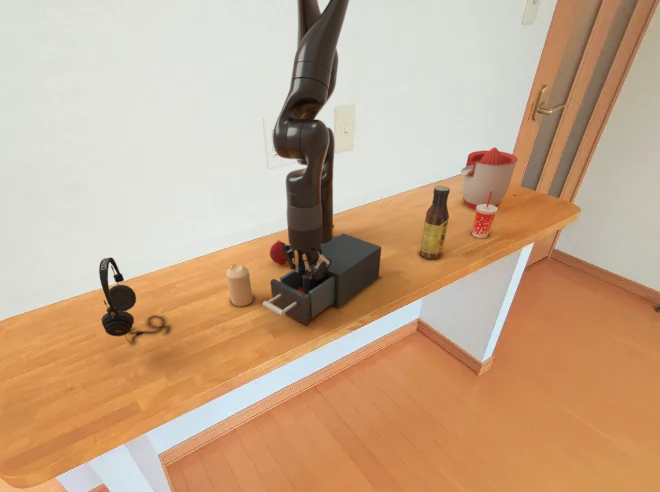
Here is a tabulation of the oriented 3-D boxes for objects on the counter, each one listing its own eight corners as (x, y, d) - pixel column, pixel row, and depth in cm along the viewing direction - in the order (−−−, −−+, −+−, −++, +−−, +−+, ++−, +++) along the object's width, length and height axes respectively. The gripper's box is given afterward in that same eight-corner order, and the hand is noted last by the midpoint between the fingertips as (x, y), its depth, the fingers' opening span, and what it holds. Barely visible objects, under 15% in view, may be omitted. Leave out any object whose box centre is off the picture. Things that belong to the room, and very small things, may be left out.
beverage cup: (481, 229, 125) (492, 186, 116) (494, 237, 121) (507, 193, 112) (465, 232, 124) (475, 189, 115) (477, 240, 119) (489, 196, 110)
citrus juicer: (446, 198, 146) (457, 143, 133) (490, 195, 147) (505, 139, 134) (464, 215, 133) (478, 156, 121) (512, 211, 134) (530, 152, 122)
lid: (291, 294, 93) (290, 276, 90) (307, 284, 97) (306, 266, 93) (308, 303, 90) (308, 284, 87) (324, 292, 94) (324, 274, 90)
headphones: (169, 351, 85) (141, 275, 72) (115, 363, 83) (77, 286, 70) (168, 312, 96) (144, 240, 84) (121, 321, 94) (89, 249, 81)
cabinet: (338, 308, 95) (338, 275, 89) (301, 289, 102) (299, 258, 96) (378, 277, 105) (381, 246, 99) (342, 263, 112) (343, 232, 106)
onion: (294, 261, 113) (292, 236, 108) (285, 270, 109) (283, 246, 104) (276, 257, 115) (274, 233, 110) (267, 267, 111) (264, 242, 106)
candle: (235, 308, 96) (229, 275, 90) (228, 297, 100) (222, 264, 94) (256, 302, 98) (251, 268, 92) (248, 291, 102) (243, 258, 96)
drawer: (291, 337, 86) (288, 310, 81) (257, 317, 92) (253, 290, 87) (350, 293, 98) (351, 267, 93) (317, 278, 104) (316, 253, 99)
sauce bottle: (442, 260, 111) (456, 193, 98) (419, 259, 112) (430, 192, 99) (440, 249, 116) (453, 184, 103) (419, 248, 117) (429, 183, 104)
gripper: (341, 224, 80) (340, 291, 91) (293, 208, 88) (297, 272, 98) (317, 237, 76) (319, 306, 87) (269, 219, 83) (276, 284, 94)
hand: (307, 288), depth 92 cm, fingers closed on lid, 2 cm apart
